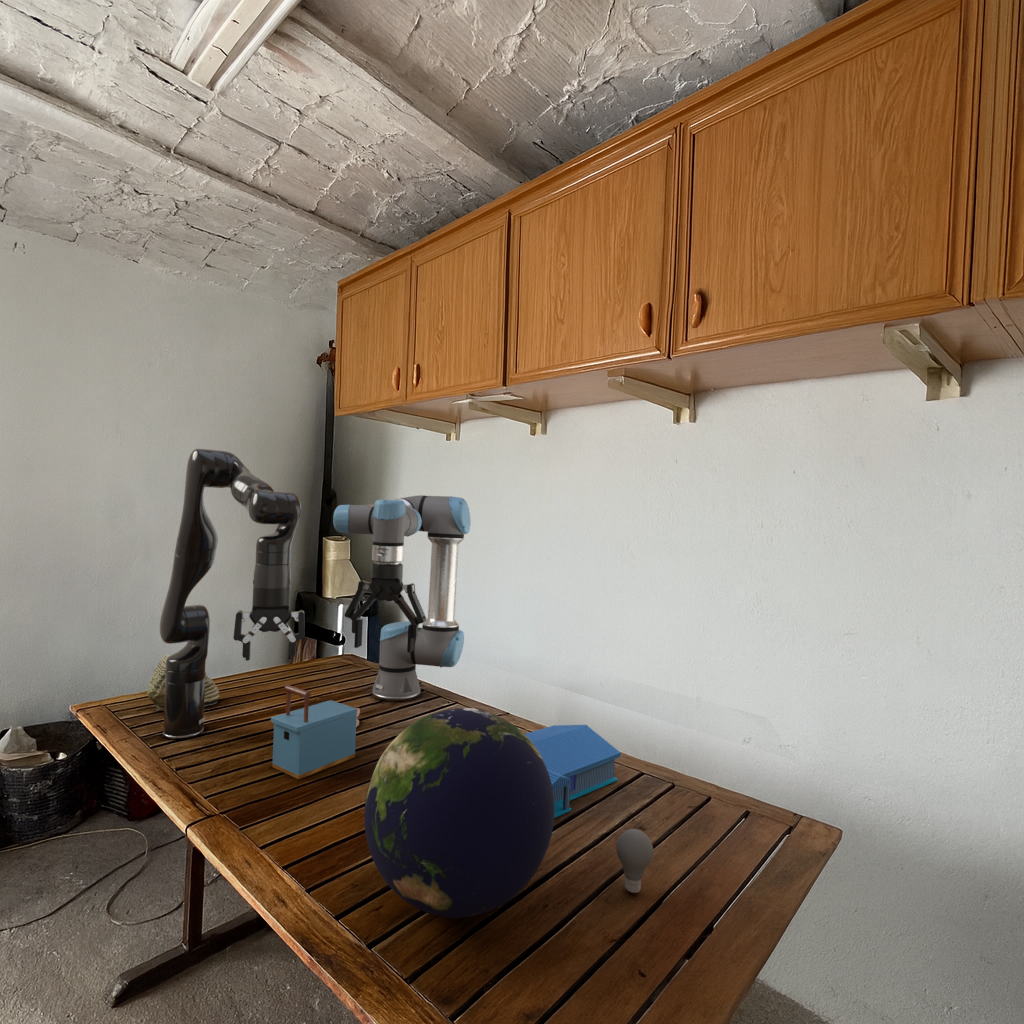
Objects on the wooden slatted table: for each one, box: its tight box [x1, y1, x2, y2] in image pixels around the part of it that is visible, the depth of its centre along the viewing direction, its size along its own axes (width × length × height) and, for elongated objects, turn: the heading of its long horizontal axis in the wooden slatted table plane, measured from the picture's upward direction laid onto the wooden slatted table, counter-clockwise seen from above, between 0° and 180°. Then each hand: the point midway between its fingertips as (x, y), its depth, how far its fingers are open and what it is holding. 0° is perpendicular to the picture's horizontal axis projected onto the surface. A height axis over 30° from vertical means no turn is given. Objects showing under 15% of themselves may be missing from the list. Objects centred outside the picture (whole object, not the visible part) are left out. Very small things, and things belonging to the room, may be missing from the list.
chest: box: [271, 714, 358, 780], centre depth 151 cm, size 16×10×11 cm, turn 145°
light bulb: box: [615, 828, 654, 894], centre depth 106 cm, size 6×6×10 cm
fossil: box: [147, 654, 221, 712], centre depth 185 cm, size 9×18×15 cm, turn 132°
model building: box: [524, 724, 622, 819], centre depth 141 cm, size 39×24×10 cm, turn 132°
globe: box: [363, 707, 555, 919], centre depth 101 cm, size 30×30×30 cm
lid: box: [270, 684, 357, 732], centre depth 150 cm, size 17×10×8 cm, turn 145°
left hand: (268, 659), depth 137 cm, fingers open, 8 cm apart
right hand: (384, 649), depth 155 cm, fingers open, 13 cm apart
